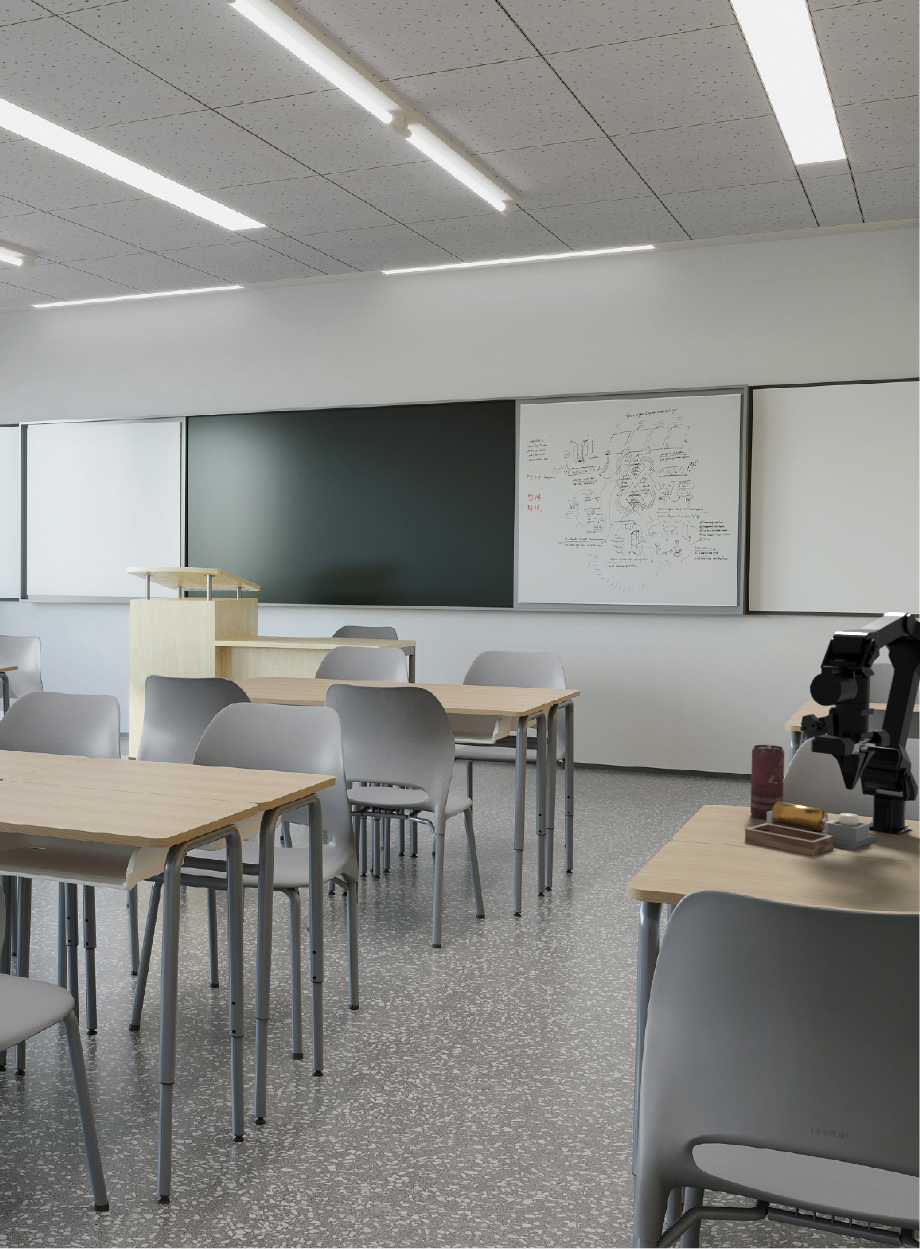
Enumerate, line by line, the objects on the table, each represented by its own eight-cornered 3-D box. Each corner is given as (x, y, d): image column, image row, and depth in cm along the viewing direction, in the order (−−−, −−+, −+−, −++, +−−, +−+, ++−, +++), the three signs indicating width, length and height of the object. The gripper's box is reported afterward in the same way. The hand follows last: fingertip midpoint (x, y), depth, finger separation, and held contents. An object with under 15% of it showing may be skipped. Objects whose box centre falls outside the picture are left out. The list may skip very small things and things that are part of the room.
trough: (765, 834, 189) (766, 823, 189) (833, 848, 180) (833, 836, 180) (745, 841, 184) (745, 829, 184) (813, 855, 175) (813, 842, 175)
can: (778, 813, 208) (780, 744, 207) (785, 820, 202) (787, 749, 201) (747, 812, 209) (749, 743, 208) (753, 819, 202) (755, 748, 202)
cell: (782, 821, 196) (783, 800, 195) (830, 830, 189) (831, 808, 188) (771, 824, 193) (772, 803, 193) (820, 833, 186) (820, 811, 186)
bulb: (844, 822, 186) (844, 812, 186) (861, 825, 184) (861, 815, 184) (835, 825, 184) (836, 815, 184) (853, 828, 182) (853, 818, 182)
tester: (781, 824, 198) (782, 806, 198) (873, 841, 185) (874, 822, 185) (757, 831, 192) (757, 812, 192) (850, 850, 179) (851, 830, 179)
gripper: (833, 694, 196) (831, 776, 196) (784, 701, 183) (782, 789, 183) (891, 700, 188) (889, 785, 188) (844, 707, 175) (842, 799, 175)
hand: (849, 789), depth 184 cm, fingers closed
